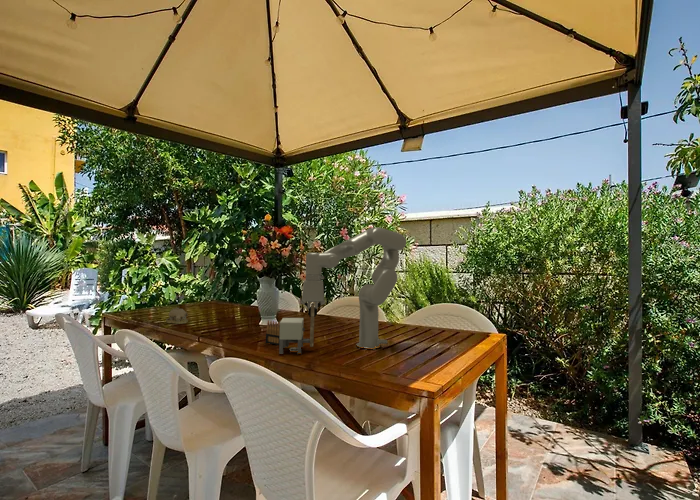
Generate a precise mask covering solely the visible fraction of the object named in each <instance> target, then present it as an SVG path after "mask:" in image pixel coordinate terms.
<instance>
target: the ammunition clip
mask: <svg viewBox="0 0 700 500" xmlns="http://www.w3.org/2000/svg"><path fill="white" fill-rule="evenodd" d="M279 340H280V321H278V322H277V321H274V320H267V323H266V333H265V344H266V343H270V344H269V345H271V344H276V345H275V346H277V345H279Z"/></svg>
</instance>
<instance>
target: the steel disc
mask: <svg viewBox="0 0 700 500" xmlns="http://www.w3.org/2000/svg"><path fill="white" fill-rule="evenodd" d="M289 350H290V351H298V347H290V348H289Z"/></svg>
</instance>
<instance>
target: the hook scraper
mask: <svg viewBox="0 0 700 500" xmlns="http://www.w3.org/2000/svg"><path fill="white" fill-rule="evenodd" d="M310 307H311V317H310V324H309V327H310V328H309V330H310V331H309V338H303V339H302V343H303V344H305V343H306V344H309V348H314V340H315V339H314V337H315V336H314V335H315V334H314V333H315V317H314V308H315V302H310ZM293 343H294V344H296V343H297V344H298V340H286V345H285V347H286V348H288V347H289V346H290V344H293Z"/></svg>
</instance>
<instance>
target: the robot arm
mask: <svg viewBox="0 0 700 500" xmlns="http://www.w3.org/2000/svg"><path fill="white" fill-rule="evenodd" d="M375 245H380V246H381V247H382V250H383V256H382V258H381V260H380V261H379V263H378V265H377V266H376V268H375V269H374V270H373V272H372V275H371V280H372V283H374V284H371V283H367V284H364V285H363V286H361V287H360V289H359V291H358V302H359V331H358V333H359V334H358V335H359V338H358V341H359V342H357V343H355V346H356V345H357V346H359V347H364V348H374V347H375V346H376V347H377V346H379V344H381V345H382V344H384V345H387V344H388V339H380V338H379V315H380V314H379V313H380V312H379V306H380V305H383V304H384V302H386V300H387V299H388V297H389V295H390V294H391V292H392V290H394V288H395V286H396V284H397V281H398V274H397V272H396V269H397V267H398V264H399V262H400V254H399V251H402V250H404V248H405V247H406V245H407V239H406V237H405V236H404V235H403V234H401V233H399V232H395V231H392V230H390V229H389V230H388V229H386V228H383V227H377V226H376V227H372V228H371V227H370V228H368V229H366V230H364V231H363V232H361V233H359V234H357V235H355V236H353V237H351V238H349V239H347V240H345V241H343V242H341V243H339V244H338V245H335V246H333V247H331V248H329V249H328V250H326V251H324V252H321V253H320V252H308V253H306V257H305V280H304V281H303V285H302V294H301V296H302V297H301V300H300V304H302V305H304V306H305V307H306V308H307V315H308V316H309V318H311V303H314V304H315V306H314V318H316V316H317V315H318V308H319V307H320V306H323V305H324V304H326V301H325V298H324V297H325V296H324V295H325V293H324V291H325V290H324V281H322V280H324V279H325V276H324V275H322V268H324V269H325V268H327V269H334V268H336V267H337V266H338V265H339V263H340V260H342V259H343V260H344V259H346V258H349V257H353V256H357V255H358V254H360V253H362V252H364V251H365V250H367V249H370V248H371V247H373V246H375Z"/></svg>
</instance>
